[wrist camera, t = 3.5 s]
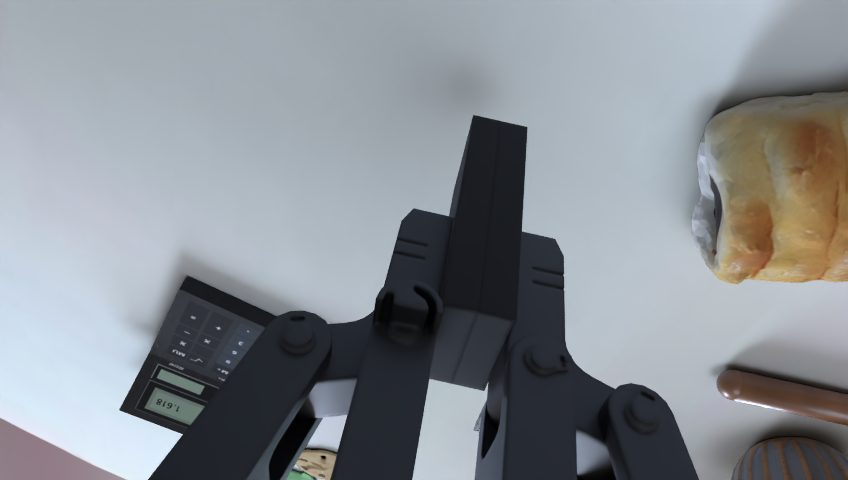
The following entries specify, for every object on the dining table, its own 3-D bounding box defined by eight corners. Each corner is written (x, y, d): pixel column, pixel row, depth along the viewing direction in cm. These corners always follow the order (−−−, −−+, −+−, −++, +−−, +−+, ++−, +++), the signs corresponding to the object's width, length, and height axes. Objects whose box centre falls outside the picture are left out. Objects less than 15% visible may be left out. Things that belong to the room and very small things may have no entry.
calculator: (353, 351, 31) (339, 401, 29) (278, 424, 39) (263, 467, 37) (187, 275, 29) (158, 324, 27) (142, 369, 37) (118, 412, 34)
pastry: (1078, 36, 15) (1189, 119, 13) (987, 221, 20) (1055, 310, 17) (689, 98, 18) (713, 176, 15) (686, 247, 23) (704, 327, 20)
